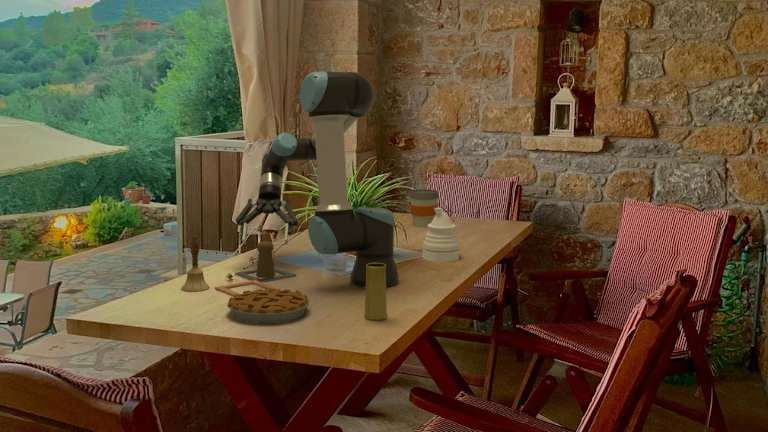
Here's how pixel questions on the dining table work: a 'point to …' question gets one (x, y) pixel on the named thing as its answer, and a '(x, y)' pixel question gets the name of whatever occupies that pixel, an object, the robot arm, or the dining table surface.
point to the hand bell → (195, 271)
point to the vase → (375, 292)
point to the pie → (268, 305)
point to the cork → (265, 260)
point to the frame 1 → (226, 287)
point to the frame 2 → (245, 275)
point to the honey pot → (441, 239)
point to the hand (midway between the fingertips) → (264, 242)
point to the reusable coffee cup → (423, 206)
